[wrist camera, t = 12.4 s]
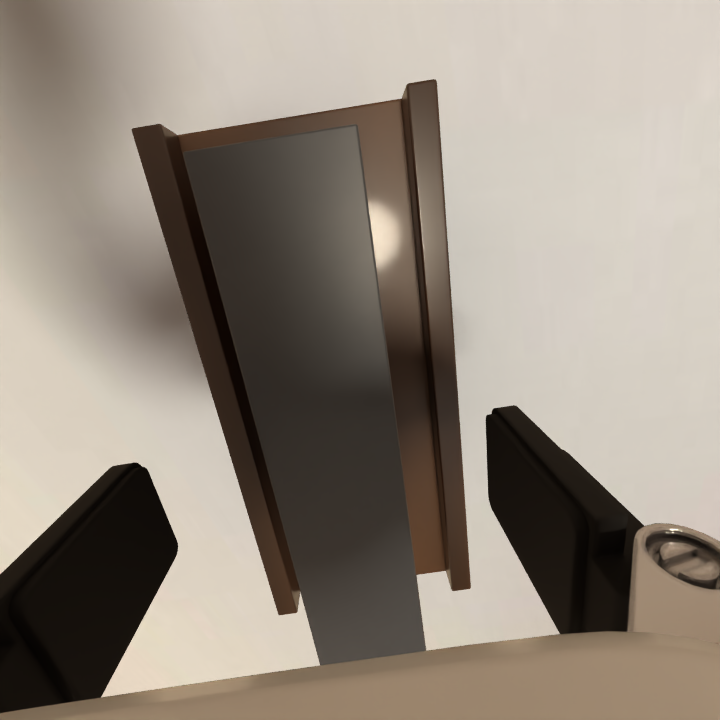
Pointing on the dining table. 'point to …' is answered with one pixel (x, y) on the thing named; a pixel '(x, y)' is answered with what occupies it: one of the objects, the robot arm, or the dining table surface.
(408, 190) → the shelf
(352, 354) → the case
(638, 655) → the robot arm
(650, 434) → the dining table surface
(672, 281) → the dining table surface
